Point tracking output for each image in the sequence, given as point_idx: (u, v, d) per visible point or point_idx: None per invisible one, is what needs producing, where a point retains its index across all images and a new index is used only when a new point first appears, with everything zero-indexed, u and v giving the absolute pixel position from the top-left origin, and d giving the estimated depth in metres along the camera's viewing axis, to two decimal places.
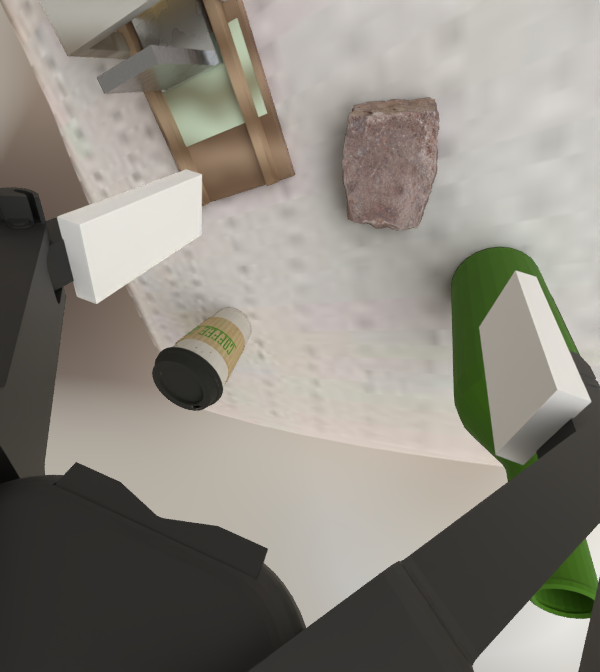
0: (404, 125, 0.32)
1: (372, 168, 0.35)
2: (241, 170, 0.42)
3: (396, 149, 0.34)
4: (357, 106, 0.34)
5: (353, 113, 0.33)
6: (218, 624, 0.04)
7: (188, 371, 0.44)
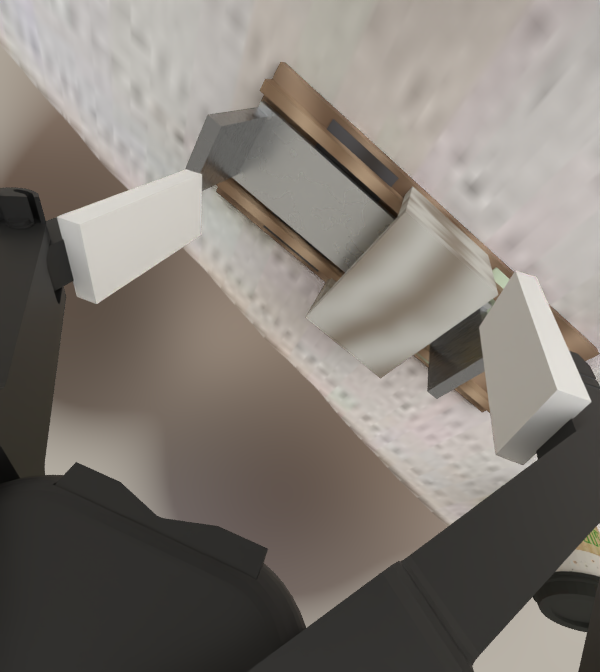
0: None
1: None
2: None
3: None
4: None
5: None
6: (218, 623, 0.04)
7: None
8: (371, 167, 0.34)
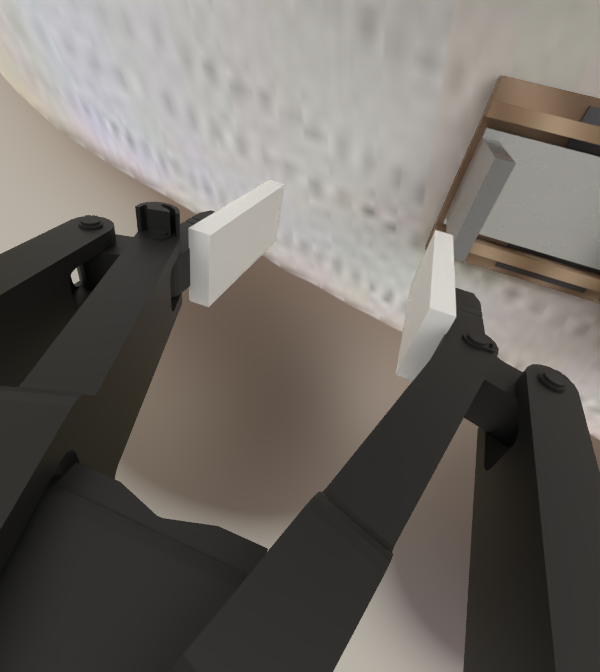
0: None
1: None
2: None
3: None
4: None
5: None
6: None
7: None
8: None
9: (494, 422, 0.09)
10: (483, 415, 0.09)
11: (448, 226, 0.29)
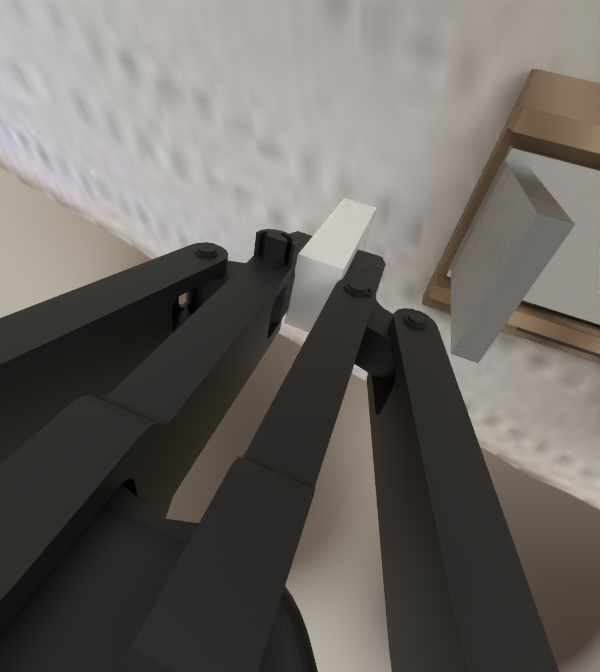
0: None
1: None
2: None
3: None
4: None
5: None
6: None
7: None
8: None
9: (372, 362, 0.10)
10: (364, 357, 0.10)
11: (453, 290, 0.20)
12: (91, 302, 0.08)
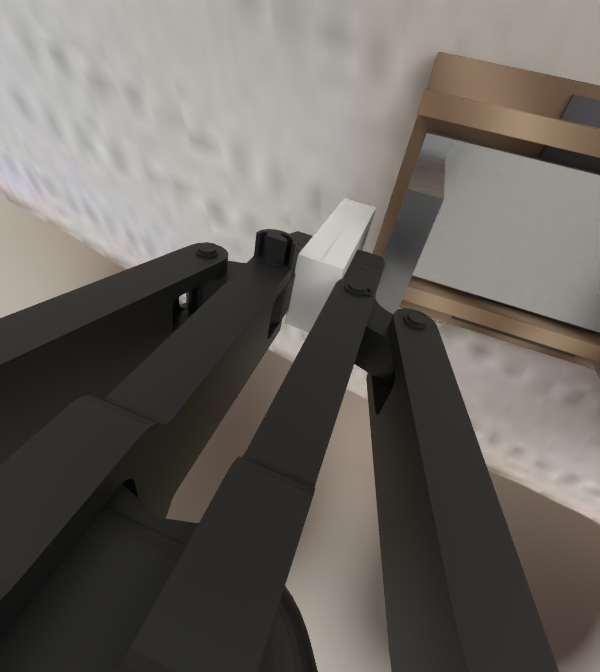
0: None
1: None
2: None
3: None
4: None
5: None
6: None
7: None
8: None
9: (372, 362, 0.10)
10: (363, 357, 0.10)
11: None
12: (91, 302, 0.08)
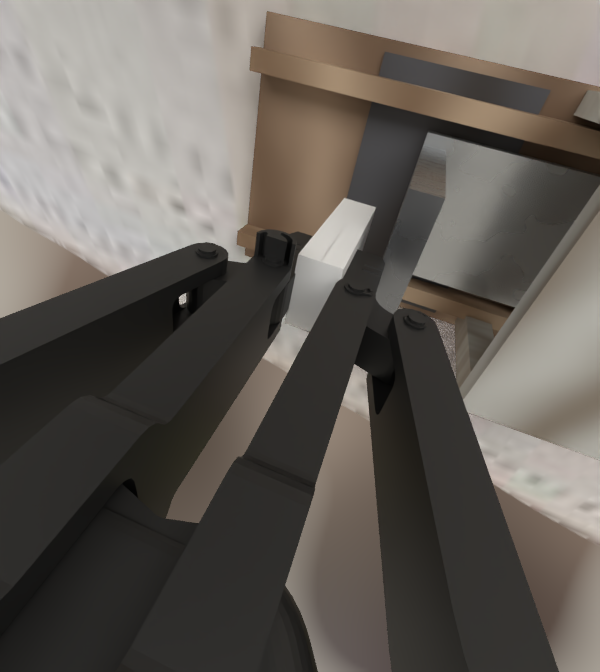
0: None
1: None
2: None
3: None
4: None
5: None
6: None
7: None
8: (485, 98, 0.18)
9: (372, 362, 0.10)
10: (363, 357, 0.10)
11: None
12: (91, 302, 0.08)
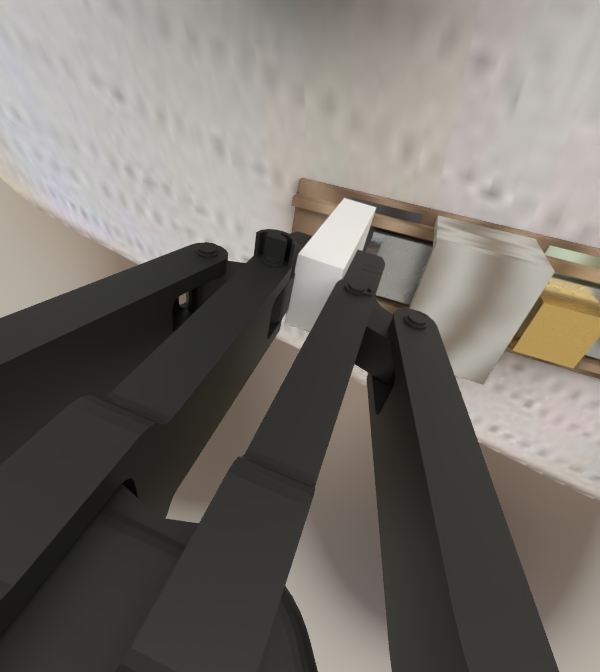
0: None
1: None
2: None
3: None
4: None
5: None
6: None
7: None
8: (397, 217, 0.40)
9: (372, 362, 0.10)
10: (364, 357, 0.10)
11: None
12: (91, 302, 0.08)
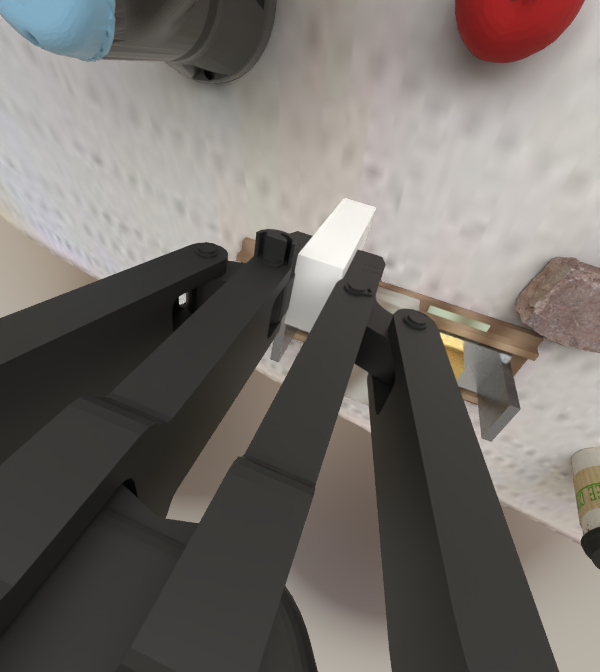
0: (562, 291, 0.39)
1: (572, 322, 0.41)
2: None
3: (574, 301, 0.40)
4: (517, 309, 0.44)
5: (522, 317, 0.42)
6: None
7: None
8: None
9: (372, 362, 0.10)
10: (364, 357, 0.10)
11: None
12: (91, 302, 0.08)
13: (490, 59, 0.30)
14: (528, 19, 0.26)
